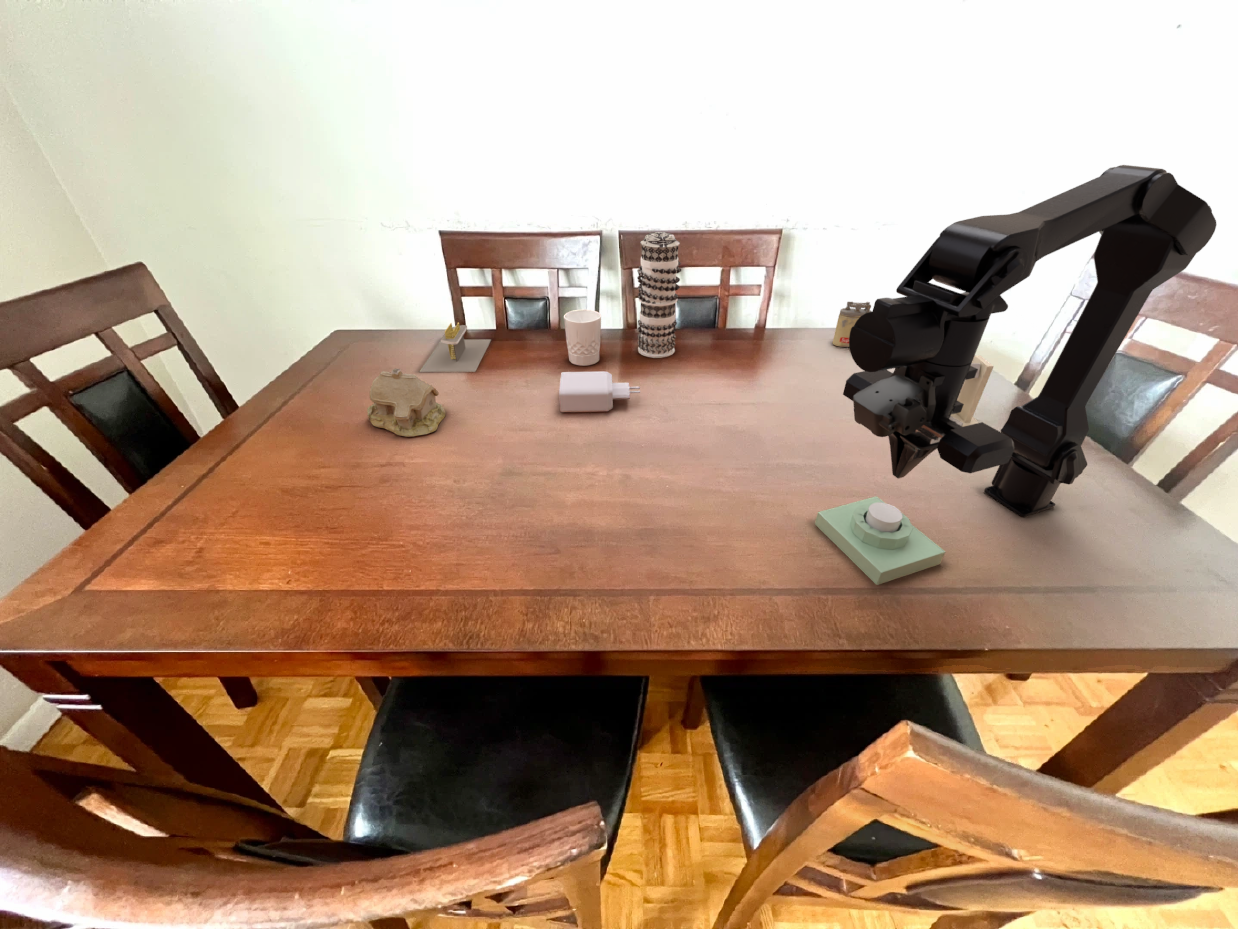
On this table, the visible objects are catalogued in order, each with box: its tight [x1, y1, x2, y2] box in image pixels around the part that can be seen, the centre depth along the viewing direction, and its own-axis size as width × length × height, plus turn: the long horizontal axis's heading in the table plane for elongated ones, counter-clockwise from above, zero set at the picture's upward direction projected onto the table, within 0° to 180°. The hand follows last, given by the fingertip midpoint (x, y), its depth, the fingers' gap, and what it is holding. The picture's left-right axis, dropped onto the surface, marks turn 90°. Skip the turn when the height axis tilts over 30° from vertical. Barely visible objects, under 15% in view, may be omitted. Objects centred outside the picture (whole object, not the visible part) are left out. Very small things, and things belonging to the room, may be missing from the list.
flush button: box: [865, 502, 903, 533], centre depth 69 cm, size 4×4×2 cm
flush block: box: [814, 495, 946, 586], centre depth 71 cm, size 12×10×4 cm
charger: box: [558, 370, 641, 413], centre depth 103 cm, size 5×9×15 cm
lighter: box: [831, 301, 873, 348], centre depth 124 cm, size 7×4×10 cm, turn 81°
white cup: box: [563, 309, 602, 367], centre depth 118 cm, size 8×8×10 cm
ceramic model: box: [367, 368, 446, 437], centre depth 96 cm, size 14×11×10 cm
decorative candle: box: [637, 231, 682, 359], centre depth 118 cm, size 9×9×25 cm
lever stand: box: [951, 354, 994, 427], centre depth 94 cm, size 10×8×12 cm
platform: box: [418, 322, 492, 373], centre depth 121 cm, size 12×18×7 cm, turn 0°
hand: (898, 476), depth 66 cm, fingers closed
